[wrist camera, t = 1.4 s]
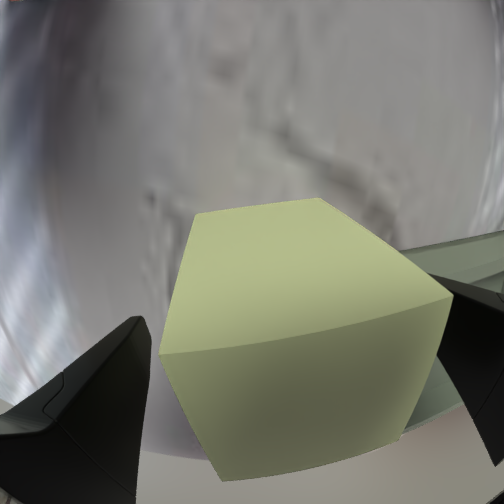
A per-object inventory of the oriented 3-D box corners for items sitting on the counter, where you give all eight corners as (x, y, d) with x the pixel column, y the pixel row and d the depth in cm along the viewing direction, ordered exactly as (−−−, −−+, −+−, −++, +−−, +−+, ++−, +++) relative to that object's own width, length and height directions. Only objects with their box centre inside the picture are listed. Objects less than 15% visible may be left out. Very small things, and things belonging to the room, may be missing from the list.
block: (319, 197, 12) (453, 294, 4) (321, 301, 13) (398, 440, 6) (195, 214, 11) (157, 354, 4) (216, 319, 13) (222, 481, 6)
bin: (513, 228, 13) (543, 243, 11) (470, 368, 18) (488, 388, 16) (362, 257, 13) (394, 288, 10) (342, 420, 18) (354, 451, 15)
